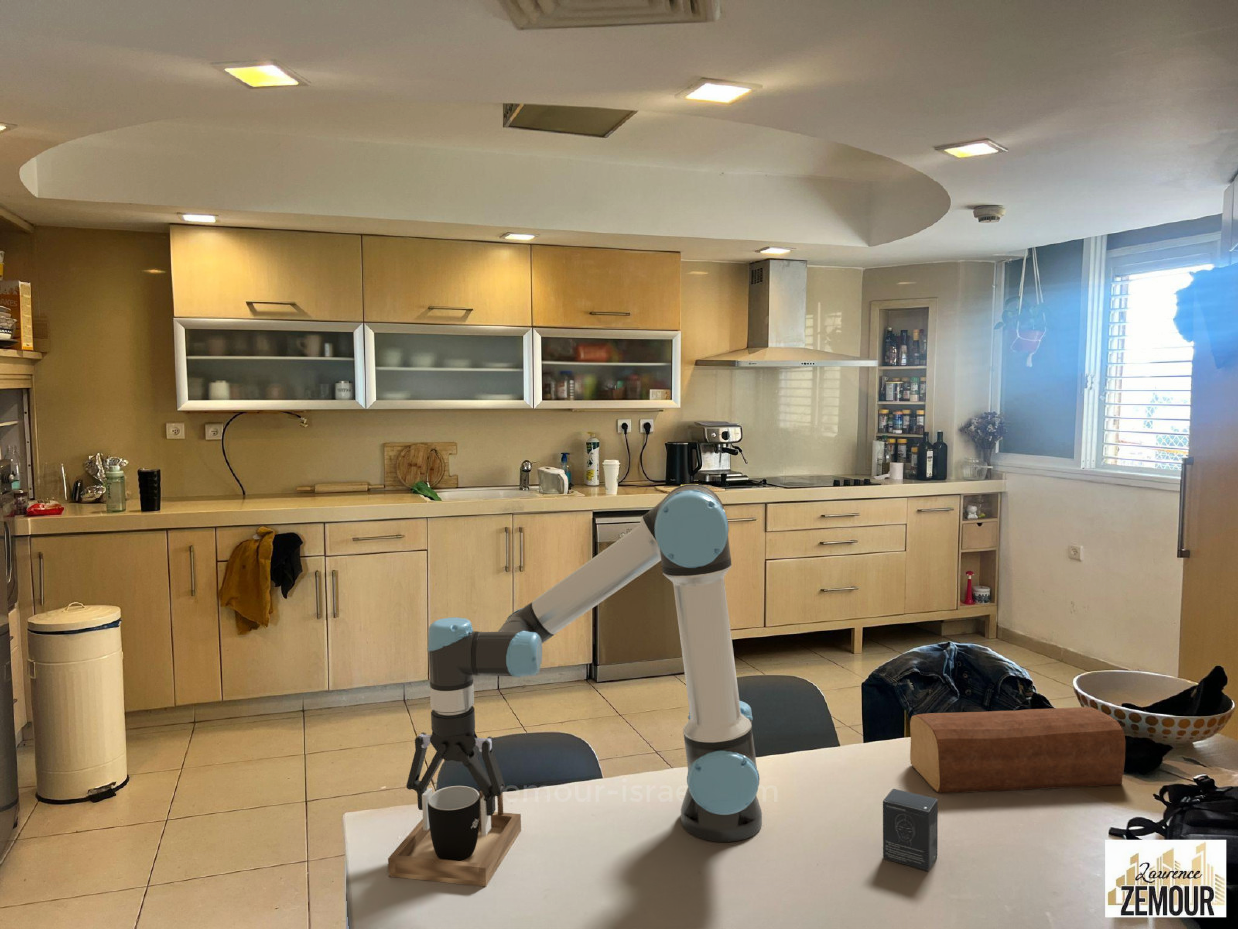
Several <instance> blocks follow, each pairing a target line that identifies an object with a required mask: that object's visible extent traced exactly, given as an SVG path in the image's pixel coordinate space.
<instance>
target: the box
mask: <svg viewBox="0 0 1238 929" xmlns="http://www.w3.org/2000/svg"><path fill="white" fill-rule="evenodd" d="M938 809H939V807H938V798H935V797H930V796H927V795H926V796H925V795H922V794H918V793H914V792H909V791H906V790H902V789H901V790H900V789H897V788H892V789H891V791H890V792H888V794H887V795H886V797H885V798H884V799H883V800H882V856H883V857H882V858H883V859H885V860H888V861H892V862H894V863H895V862H896V863H898V864H903V865H906V866H910V867H913V868H915V869H920V870H924V871H927V872H929V871H930V869H932V867H933V865H934V863H935V861H936V860H937V858H938V844H939V843H938V841H939V840H938V832H939V831H938V826H939V825H938V824H939V823H938V822H939V821H938V815H939V814H938V812H939V811H938Z"/></svg>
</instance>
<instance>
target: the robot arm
mask: <svg viewBox="0 0 1238 929" xmlns="http://www.w3.org/2000/svg"><path fill="white" fill-rule="evenodd" d="M723 504H724V503H722V501H721V499H720V497H719V496H718V495H717V494H716V493H715V492H714V491H713V490H712V489H710V488H709V487H707V486H704V485H702V484H697V483H685V484H682V485H679V486H677V487H676V488H673V489H672V490H671V491H670V492H669V493H668V494H667V495H666V496H665V497H664V498H662V499H661V500H660V502H658V503H657V504H656V505H655V506H654V507H653V508H652V509H650V510H648V512H646V513H645V514H643V515H642V516H640V517H641V518H640V523H639V525H637V526H635V528H633V529H631V531H629V532H628V533H626V534H625V535H623V536H622V537H621V538H619V539H618V540H617V541H615V542H613V543H612V544H610V545H609V546H608V547H607V548H605V549H603V550H602V551H601V552H600V553H598V554H597V555H595V556H594V557H593V558H591V559H590V560H588V561H587V562H585V563H584V564H582V565H581V566H580V567H578V568H577V569H575V570H574V571H573V572H572V573H570V574H569V575H567V576H566V577H564V578H563V579H562V580H560V581H559V582H557V583H556V584H554V585H553V586H552V587H550V588H549V589H547V590H546V591H545V592H543V593H542V594H540V595H539V596H538V597H536V598H535V599H533V600H532V601H531V602H530V603H528V604H526V605H525V606H524V607H522V608H521V607H520V608H519V609H516V610H515V611H514V612H512V613H511V614H510V615H509V616H508V617H507V619H506V620H505V621H504V623H503V624H502V626H501V627H500V628H499V629H498V631H477V630H476V631H475V630H474V628H473V626H472V622H471V621H470V620H469V619H467V618H463V617H462V618H461V617H456V616H455V617H445V618H444V617H443V618H440V619H437V620H435V621H433V622H432V623H431V624H430V626H429V628H428V635H427V636H428V638H427V639H428V642H427V643H428V644H427V652H428V653H427V654H428V656H427V657H428V669H429V671H428V672H429V693H430V694H429V695H430V696H429V697H430V698H429V699H430V700H429V701H430V704H429V705H430V709H431V712H430V724H431V725H430V726H431V731H432V732H431V734H427V733H426V732H425V731H423V732H421V733H420V734H419V735H417V737H415V739H414V746H415V747H414V748H415V751H414V754H413V759H412V762H411V765H410V766H411V767H410V771H409V773H408V777H407V782H406V785H405V786H406V788H407V790H411V791H412V790H414V791H415V792H416V795H417V808H418V810H419V811H422V819H423V830H425V831H427V830H428V829H429V828H430V826H429V818H428V798H429V796H430V795H431V794H432V793H433V788H432V787H431V788H430V787H429V786H430V783H431V781H432V779H433V778H434V776H435V774H436V772H437V771H438V770H439V767H440V765H441V763H442V761H444V762H450V761H454V762H457V763H458V762H460V763H461V762H462V765H463V766H464V767H465V768H467V770H468V771H469V773H470V775H471V776H472V778H473V779H474V782H475V783H476V785H477V787H478V788H479V790H480V791H481V792H482V793H483V795H484V796H483V797H482V798H481V828H482V836H486V835H487V834H488V832H489V831H490V829H491V816H492V815H493V813H494V812H496V798H497V797H498V796H500V795H501V794H502V793H503V792H504V791H505V789H506V785H505V781H504V779H503V778H504V777H503V775H502V772H501V769H500V766H499V764H498V760H497V757H496V754H495V751H494V738H493V737H492V736H488V737H487V738H483V737H478V735H477V733H476V715H475V714H476V712H475V707H474V705H475V692H474V691H475V690H474V689H475V688H474V676H481V677H483V676H484V677H490V676H491V677H515V678H522V677H533V676H536V675H537V674H538V673H539V672H540V670H541V667H542V661H543V644H544V643H545V642H547V641H549V639H551V638H552V637H553V636H554V635H557V633H560V631H561V630H563V629H565V628H566V627H567V626H569V625H570V624H572V623H573V622H575V621H576V620H577V619H580V617H582V616H584V615H585V614H586V613H588V612H589V611H591V610H592V609H593V608H594V607H596V606H598V605H599V604H600V603H602V602H604V601H605V600H607V599H608V598H609V597H610V596H612V595H614V594H615V593H616V592H618V591H619V590H621V589H622V588H623V587H625V586H627V585H628V584H629V583H630V582H632V581H633V580H635V579H637V577H640V576H641V575H642V574H644V573H645V572H647V571H648V570H650V569H651V568H653V567H654V566H655V565H657V564H658V563H659V562H660V564H661V568H662V569H661V570H662V575H663V576H664V577H666V578H667V579H668V580H669V581H671V583H672V586H673V592H674V593H673V594H674V600H675V601H674V602H675V608H676V616H677V624H678V631H679V638H680V646H681V648H680V649H681V654H682V662H683V670H684V677H685V678H684V680H685V687H686V692H687V693H686V694H687V701H688V716H687V719H688V722H687V723H685V725H684V726H683V730H682V732H683V740H684V748H685V756H686V764H687V776H686V783H687V784H686V785H687V789H686V792H685V795H684V798H683V801H682V804H681V808H680V824H681V826H682V827H683V829H684V830H685V831H686V832H687V833H689V834H690V835H692V836H694V837H695V838H699V839H702V840H706V841H708V842H709V841H710V842H718V843H731V842H739V841H743V840H747V839H749V838H751V837H753V836H755V835H756V834H758V833H759V832H760V830H761V829H762V827H763V826H762V825H763V812H762V808H761V805H760V803H759V799H758V796H757V793H758V791H759V785H760V773H759V770H758V768H757V766H758V765H757V759H756V750H755V742H754V737H753V736H754V735H753V724H752V723H753V720H754V719H753V718H754V717H753V715H752V708H751V706H750V705H749V704H748V703H747V702H744V701H742V700H740V695H739V688H738V686H739V685H738V680H737V679H738V678H737V671H736V663H735V655H734V647H733V639H732V631H731V623H730V622H731V621H730V615H729V614H730V613H729V607H728V606H729V605H728V600H727V592H726V583H725V582H726V581H725V576H726V574H727V573H728V572H729V570H730V569H731V568H732V566H733V565H732V557H731V549H730V541H729V540H730V539H729V532H730V529H729V521H728V517H727V514H726V512H725V507H724V505H723ZM430 745H432V747H433V749H434V750H435V751H436V752H435V753H434V756H433V757H432V759H431V762H430V763H429V765H428V766H427V767H428V768H427V769H426V771H425V773H424V775H422V778H421V780H420V777H421V773H422V769H423V765H424V761H425V757H426V754H427V750H428V747H429V746H430ZM476 746H477V747H478V751H479V752H480V753H481V757H482V760H483V763H484V766H485V769H486V770H485V769H484V766H482V763H481V761H480V760H479V759H478V754H477V753H476V751H475V749H474V748H475V747H476Z"/></svg>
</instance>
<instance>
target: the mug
mask: <svg viewBox="0 0 1238 929" xmlns="http://www.w3.org/2000/svg"><path fill="white" fill-rule="evenodd" d="M428 818H429V826H430V833H431V839H432V843H433V847H434V850H435V853H436V855H437V856H438V858H439V859H442V860H452V861H462V860H465V859H467V858H468V857H470V856H471V855H472V854H473V852H474V850H475V847H476V844H477V839H478V831H479V818H480V795H479V791H478V790H477V789H475V788H474V787H472V786H471V787H470V786H465V785H454V786H451V785H450V786H446V787H442V788H440V789H437V790H435V791H434V792H432V794H431V795H430V796H429V798H428Z"/></svg>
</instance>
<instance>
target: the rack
mask: <svg viewBox="0 0 1238 929" xmlns="http://www.w3.org/2000/svg"><path fill="white" fill-rule="evenodd" d="M478 793H479V795H480V818H479V831H478V839H477V844H476V847H475V850H474V852H473V854H472V855H471V856H470V857H468V858H467V859H465V860H462V861H452V860H442V859H439V858H438V856H437V855H436V853H435V850H434V847H433V843H432V839H431V833H430V828H429V829H428V830H427V831H425V830H423V818H422V819H421V820H420V821H419V822H418V823H417V824H416V826H414V828H413V829H412V830H411V832H409V833H408V835H407V836H406V837H405V838H404V840H403V841H402V842H401V843H400V844H399V845H397V847H396V849H395V850H394V851H393V852H392V853H391V854H390V856H388V858H387V864H388V865H387V866H388V877H389V878H390V877H392V878H400V879H410V880H421V881H430V882H440V883H446V884H447V883H448V884H460V885H469V886H477V887H487V886H488V884H489V883H490V881H491V879H492V878H493V876H494V875H495V873H496V872H497V870H498V868H499V867H500V866H501V864H502V862H503V861H504V859H505V857H506V855H507V854H508V853H509V851H510V849H511V847H512V846H513V844H514V843H515V841H516V839H517V838H518V837H519V835H520V834H521V832H522V820H521V818H522V816H521V813H512V812H504V795H503V794H504V793H503V792H502V794H501V795H500V796H498V797H497V796H496V799H497V811H495V812H494V813H493V815H492V816H491V829H490V831H489V832H488V834H487V835H486V836H482V828H481V798H482V797H483V796H484V795H483V793H482V792H481V790H480V791H478Z"/></svg>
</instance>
